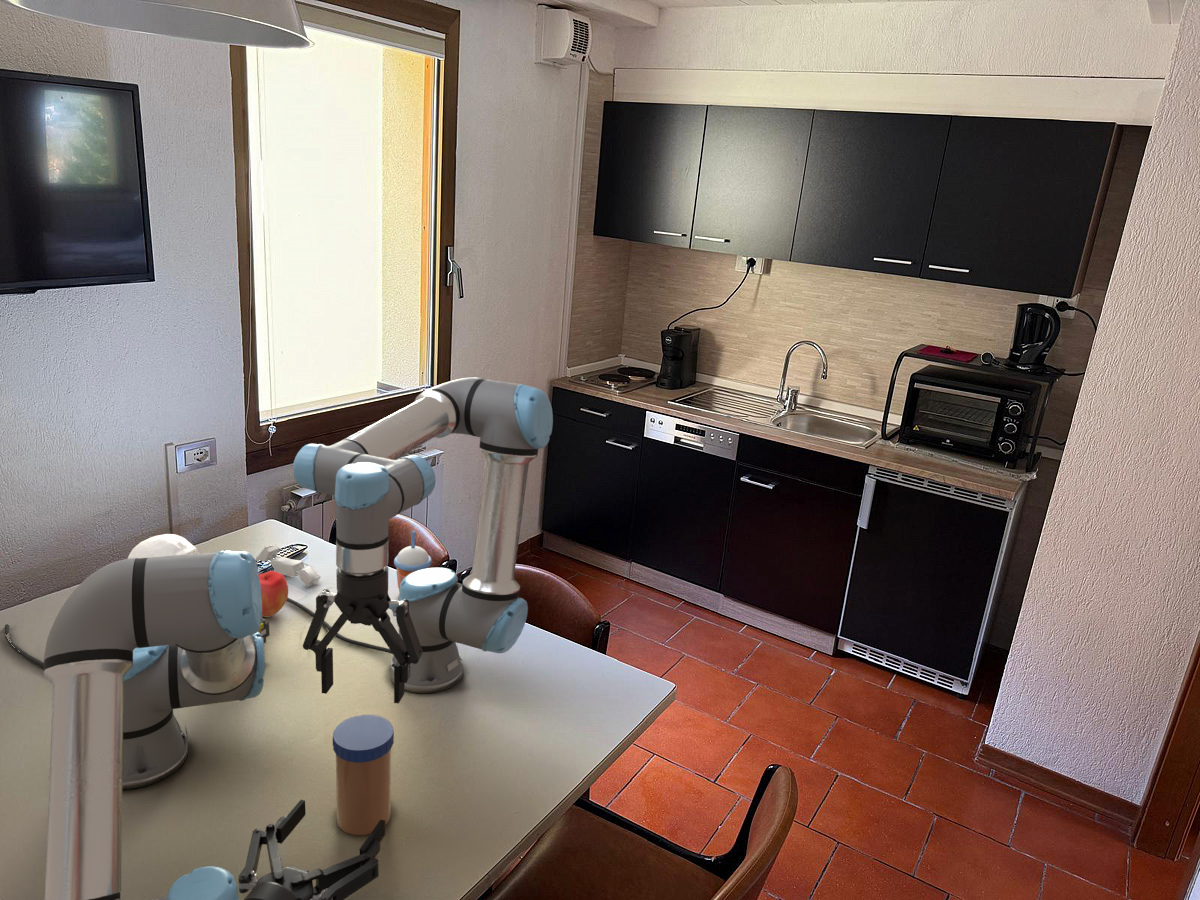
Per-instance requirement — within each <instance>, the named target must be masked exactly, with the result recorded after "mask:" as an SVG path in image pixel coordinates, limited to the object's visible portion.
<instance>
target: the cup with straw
mask: <svg viewBox="0 0 1200 900" xmlns="http://www.w3.org/2000/svg"><path fill="white" fill-rule="evenodd" d="M410 533H411V535H410V536H411V537H410V538H411V542H410V545H409V546H406V547H404V548H402V549H401V550H400V551H399V552H398V554H397V555H396V556H395V557H394V559H393V565H394V567H395V568H396V580H397V588H398V592H399V591H400V584H401V582H402V580H403V579H404V578H405V577H406V576H407V575H409V574H411V573H413V572H415V571H418V570H422V569H426V568H430V566H431V565H432V562H433V561H432V556H431V555H429V554H428V552H427V550H426V549H424V548H422V547H421V546H419V545H416V531H415V530H411V532H410Z"/></svg>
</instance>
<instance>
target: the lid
mask: <svg viewBox="0 0 1200 900" xmlns="http://www.w3.org/2000/svg"><path fill="white" fill-rule="evenodd" d="M394 735H395V731H394V727H393V724H392V723H391V722H390V721H389V720H388V719H387V718H385V717H383V716H380V715H377V714H376V715H375V714H360V715H355V716H351V717H349V718H346V719H345V720H343V721H341V722H340V723H339V724H338V725H337V726H336V727H335V728H334V730H333V733H332V747H333V748H332V750H333V752H334V753H335V756H336V755H337V756H338V757H340V758H341V759H343V760H346V761H349V762H369V761H373V760H376V759H378V758H380V757H382V756H384V755H385V754H387V753H388V752H389V750H390V749H391V750H392V748H393V745H394V744H395V743H394V742H395V739H394V738H395V736H394Z"/></svg>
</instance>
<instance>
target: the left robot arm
mask: <svg viewBox="0 0 1200 900" xmlns="http://www.w3.org/2000/svg"><path fill="white" fill-rule="evenodd" d="M255 559H256V558H255V557H254V556H253V554H252V553H250V552H248V551H246V550H230V549H222V550H219V551H213V552H202V553H200V554H188V555H175V556H162V557H149V558H130V559H128V558H124V559H120V560H116V561H112V562H111V563H108V564H106V565H104V566H102V567H100V568H98V569H97V570H96V571H94V572H93V573H91V574H90V575H88V576H87V577H86V578H85V579H84V580H83V581H82V582H81V583H80V584H79V585H78V586H77V587H76V588H75V589H74V590H73V591H72V592H71V593H70V594H69V596H68V598H67V599H66V600H65V601H64V603H63V605H62V606H61V608H60V609H59V611H58V613H57V615H56V617H55V619H54V621H53V623H52V626H51V627H50V629H49V633H48V636H47V640H46V643H45V648H44V656H43V661H42V660H40V659H38V658H36V657H34V656H32V655H31V654H29V653H27V652H26V651H25V650H23V649H22V648H21V647H19V646H18V645H17V644H16V643H15V642H14V640H13V639H12V636H11V635H10V638H11V639H12V640H11V641H13V642H14V643H15V644H16V645H15V644H14V643H13V642H11V643H10V642H9V641H10V640H9V641H8V639H7V637H6V636H5V634H6V635H7V634H8V633H9V629H10V628H11V626H10V624H9V625H8V623H6V624H5V625H4V626H5V628H4V627H3V629H5V632H4V637H5V640H6V642H7V644H8V645H9V646H10V648H11V649H12V650H14V651H15V652H16V653H17V655H20V656H21V657H22V658H24V659H25V660H27V661H28V662H31V663H33V664H34V665H36V666H38V667H40V668H42V669H43V676H44V677H45V678H47V679H48V680H49V681H51V683H52V696H51V699H52V700H51V702H52V703H51V721H50V722H51V724H50V725H51V727H50V747H49V749H50V750H49V776H48V778H49V779H48V800H47V801H48V802H47V803H48V804H47V825H46V828H47V830H46V853H45V854H46V855H45V857H46V858H45V877H44V878H45V879H44V880H45V881H44V882H45V884H44V900H121V892H122V861H123V860H122V859H123V854H122V853H123V852H122V851H123V849H122V848H123V838H122V837H123V790H133V789H138V788H143V787H147V786H149V785H153V784H156V783H158V782H160V781H163V780H164V779H166V778H168V777H169V776H171V775H173V774H174V773H175V772H177V771H178V770H179V769H180V768H181V767H182V766H183V764H185V762H186V759H187V758H188V754H189V746H188V740H189V736H188V731H187V726H186V725H184V727H185V728H184V729H185V733H184V731H182V728H181V726H180V724H179V722H178V720H177V718H176V716H175V714H174V710H177V709H184V708H192V707H198V706H206V705H207V706H208V705H215V704H221V703H230V702H235V701H236V702H237V701H238V702H239V701H240V702H243V701H246V700H247V699H248V700H249V699H253V698H256V697H258V696H259V695H260V694H261V693H262V691H263V688H264V682H265V681H264V680H265V670H266V669H265V668H266V667H265V666H266V659H265V658H266V657H265V658H264V656H265V644H264V645H263V640H262V636H261V634H260V633H259V632H258V631H259V629H260V625H261V621H262V619H263V616H262V596H261V585H260V579H259V576H258V574H259V566H258V564H257V563H256V561H255ZM9 627H10V628H9ZM10 638H9V639H10ZM11 644H12V645H13V646H14V647H15V648H14V647H13V646H12V645H11ZM18 650H19V651H20V652H19V651H18ZM185 734H186V735H185ZM306 813H307V812H306V800H303V799H299V801H298V802H297V803H296V804H295V806H294V807H293V808H292V809H291V810H290V811H289V812H288V814H287V815H286V816H284V815H282V816H281V817H279V818H278V819H277V821H276V822H275V823H274V824H273V823H269V824H267V825H266V826H265V830H262V829H261V828H254V829H253V830H252V834H251V838H250V843H249V848H248V851H247V856H246V860H245V861H246V862H245V866H244V868H243V869H242V871H240V874H239V875H238V886H237V881H236V879H235V877H234V875H233V874H232V873H231V872H230V871H229V870H227V869H225V868H224V867H221V866H216V865H206V866H200V867H197V868H194V869H192V870H191V871H190V872H189V873H187V874H182V875H181V876H179V877H178V878H177V879H176V880H175V881H174V883H173V884H172V885H171V887H170V888H169V890H168V893H167V896H163V897H159V898H154V899H153V898H152V900H240V898H239V893H240V894H246V893H248V892H249V893H248V894H247V895H246V896H245V897H244V898H243V900H346V898H348V897H350V896H351V895H353V894H354V893H356V892H357V891H360V889H362V888H363V887H365V886H367V885H368V884H370V883H371V882H373V881H374V880H376V879H378V877H379V875H380V861H379V859H378V858H377V857H378V855H379V853H380V852H381V843H382V840H383V839H384V837H385V836H386V825H385V820H380V821H379V822H378V824H377V825H376V827H375V828H374V830H373V831H372V832H371V834H368V837H367V838H366V839H365V841H364V842H363V844H361V847H360V848H359V850H358V852H359V854H358V855H356V856H353V857H351V858H348V859H346V860H343V861H340V862H338V863H336V864H333V865H331V866H328V867H325V868H322V869H321V868H316V869H314V870H311V871H309V870H308V869H305V868H297V867H296V866H294V865H287V866H284V867H283V864H282V859H281V856H280V850H279V846H278V844H280V845H282V844H283V843H284V842H285V840H286V839H287V838H288V837H289V836H290V835H291V833H293V831H294V830H295V828H296V827H297V826H298V825H299V824H300V822H301V821H302V820H303V819H304V818H305V816H307V814H306ZM264 845H266V850H267V854H268V862H269V868H270V873H268V874H265V875H263V876H261V877H259V878H258V873H257V871H258V868H259V867H258V866H259V863H260V856H261V852H262V846H264ZM314 881H315V886H314V883H313V882H314ZM249 890H250V891H249Z"/></svg>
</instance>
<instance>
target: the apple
mask: <svg viewBox="0 0 1200 900" xmlns="http://www.w3.org/2000/svg"><path fill="white" fill-rule="evenodd" d="M258 576H259V579H260V585H261V596H262V617H265V618H269V617H273V616H275V615H276V614H278V613H279V612H280V611H281V610H282V609H283V607H284V606H285V605H286V603H287V598H289V584H288V581H287V579H286V577H285V575H282V574H281V573H278V572H275V571H268V570H267V571H266V572H264V573H258Z"/></svg>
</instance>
